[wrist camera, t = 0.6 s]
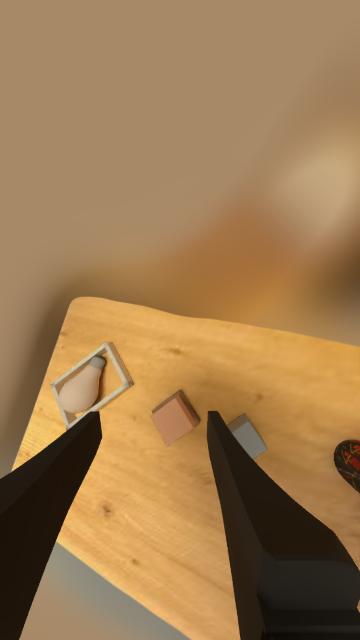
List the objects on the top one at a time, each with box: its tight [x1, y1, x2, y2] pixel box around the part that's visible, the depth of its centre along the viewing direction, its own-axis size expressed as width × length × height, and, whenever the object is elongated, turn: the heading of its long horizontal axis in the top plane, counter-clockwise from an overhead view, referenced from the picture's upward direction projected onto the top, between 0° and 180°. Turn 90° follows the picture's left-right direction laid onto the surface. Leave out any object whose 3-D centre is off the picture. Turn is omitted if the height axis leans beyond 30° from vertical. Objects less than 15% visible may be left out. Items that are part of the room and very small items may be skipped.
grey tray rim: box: [50, 342, 134, 430], centre depth 35 cm, size 10×15×2 cm
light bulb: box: [59, 356, 106, 413], centre depth 33 cm, size 7×7×11 cm
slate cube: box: [227, 413, 268, 459], centre depth 26 cm, size 4×4×4 cm
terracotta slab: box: [151, 395, 196, 447], centre depth 28 cm, size 5×5×2 cm
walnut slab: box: [152, 390, 200, 435], centre depth 30 cm, size 6×6×2 cm
